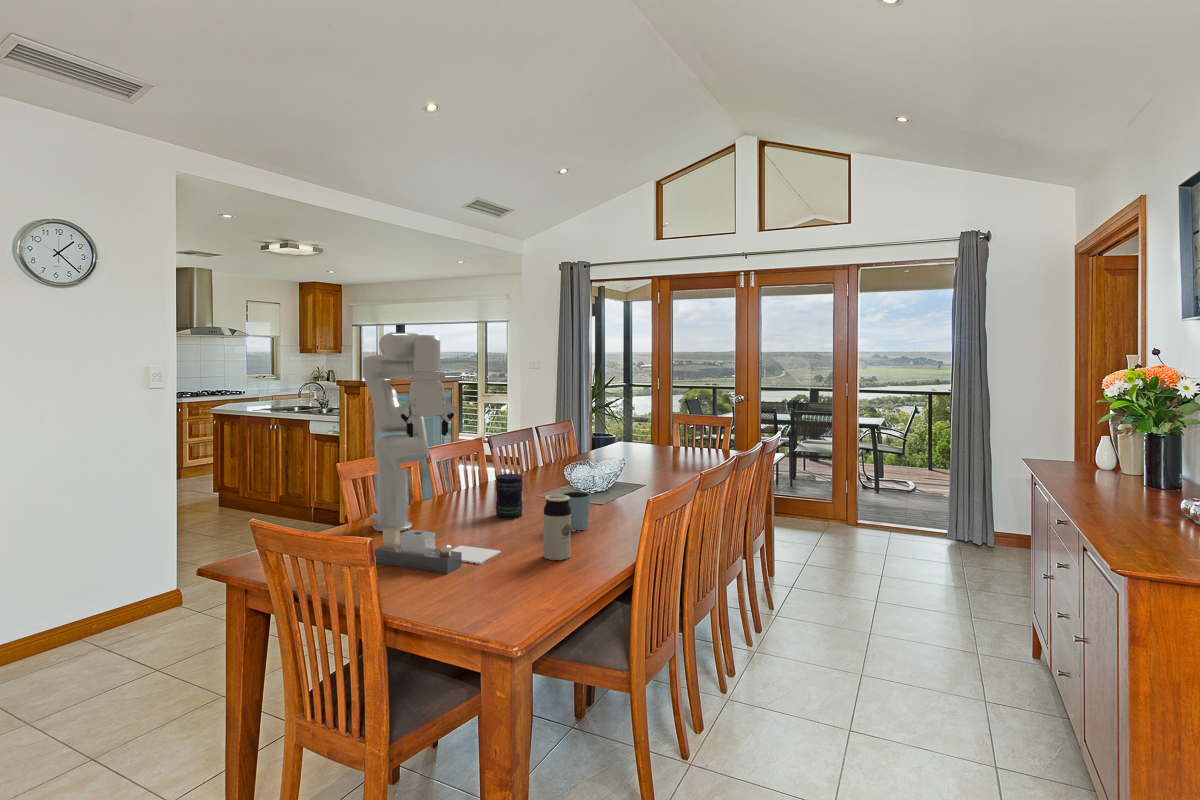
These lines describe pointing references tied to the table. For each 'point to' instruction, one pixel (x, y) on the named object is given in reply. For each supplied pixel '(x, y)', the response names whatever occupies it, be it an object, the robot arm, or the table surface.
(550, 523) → the travel mug
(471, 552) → the mat
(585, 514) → the blue grey cup
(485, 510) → the table surface
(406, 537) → the grey rectangular block
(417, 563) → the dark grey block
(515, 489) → the storage jar
